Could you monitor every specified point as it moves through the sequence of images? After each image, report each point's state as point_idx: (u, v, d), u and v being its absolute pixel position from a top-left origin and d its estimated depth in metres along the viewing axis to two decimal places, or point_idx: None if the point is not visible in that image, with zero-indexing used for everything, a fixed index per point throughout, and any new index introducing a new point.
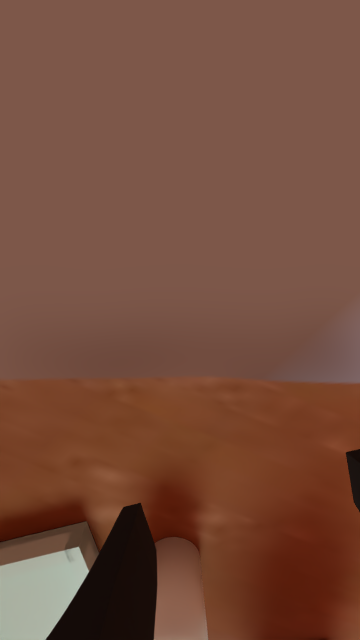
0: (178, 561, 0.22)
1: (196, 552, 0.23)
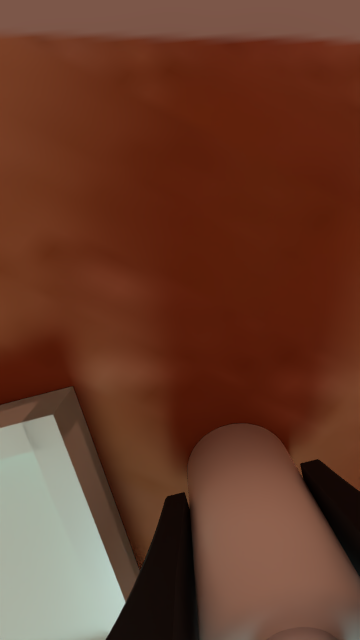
0: (263, 454, 0.10)
1: None
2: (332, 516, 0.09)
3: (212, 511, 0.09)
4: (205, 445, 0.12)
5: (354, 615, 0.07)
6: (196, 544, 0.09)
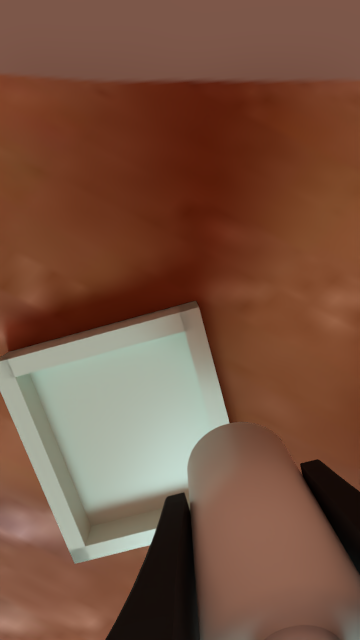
0: (263, 453, 0.10)
1: (287, 450, 0.12)
2: (331, 516, 0.09)
3: (213, 509, 0.09)
4: (205, 443, 0.12)
5: (355, 613, 0.06)
6: (196, 542, 0.09)
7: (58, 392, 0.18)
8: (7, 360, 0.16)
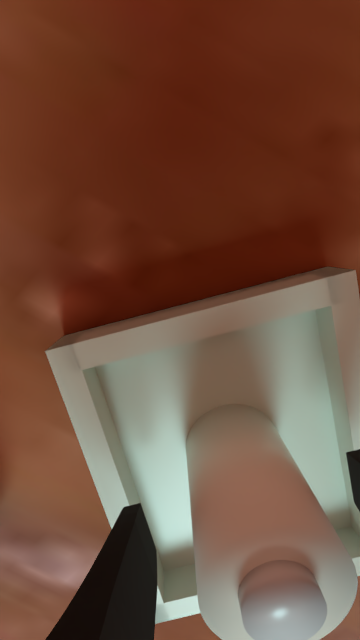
0: (253, 429, 0.12)
1: None
2: None
3: (207, 474, 0.10)
4: (202, 423, 0.13)
5: (324, 550, 0.08)
6: (193, 503, 0.10)
7: (132, 392, 0.13)
8: (72, 345, 0.11)
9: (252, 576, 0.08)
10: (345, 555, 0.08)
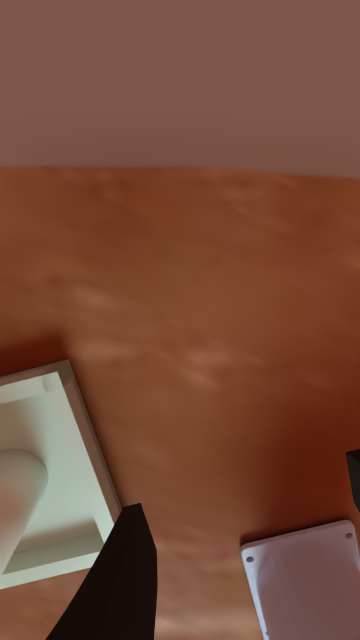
0: (3, 469, 0.18)
1: (38, 466, 0.20)
2: None
3: None
4: None
5: None
6: None
7: None
8: None
9: None
10: None
